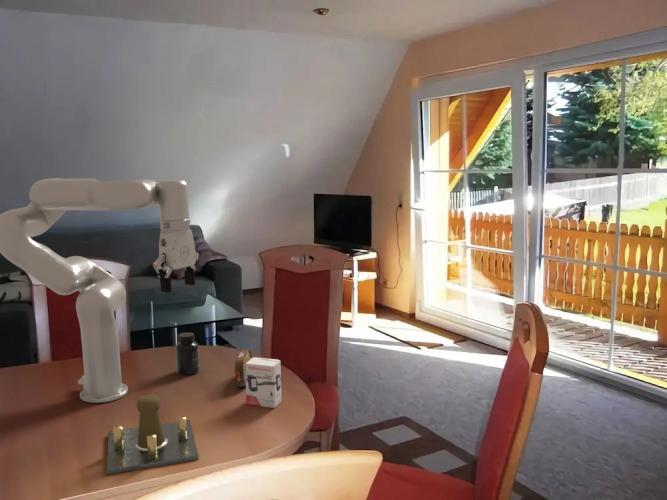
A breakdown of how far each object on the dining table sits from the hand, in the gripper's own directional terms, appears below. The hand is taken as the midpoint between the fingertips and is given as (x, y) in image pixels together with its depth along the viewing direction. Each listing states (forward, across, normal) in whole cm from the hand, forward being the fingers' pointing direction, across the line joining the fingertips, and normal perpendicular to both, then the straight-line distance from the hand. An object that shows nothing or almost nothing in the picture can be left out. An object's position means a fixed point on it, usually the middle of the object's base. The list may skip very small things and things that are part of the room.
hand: (178, 288), depth 165 cm
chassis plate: (+30, -28, -14) cm, 44 cm away
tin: (+31, +15, -10) cm, 36 cm away
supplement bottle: (+31, +14, +10) cm, 35 cm away
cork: (+29, -28, -14) cm, 43 cm away
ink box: (+31, +4, -24) cm, 39 cm away
